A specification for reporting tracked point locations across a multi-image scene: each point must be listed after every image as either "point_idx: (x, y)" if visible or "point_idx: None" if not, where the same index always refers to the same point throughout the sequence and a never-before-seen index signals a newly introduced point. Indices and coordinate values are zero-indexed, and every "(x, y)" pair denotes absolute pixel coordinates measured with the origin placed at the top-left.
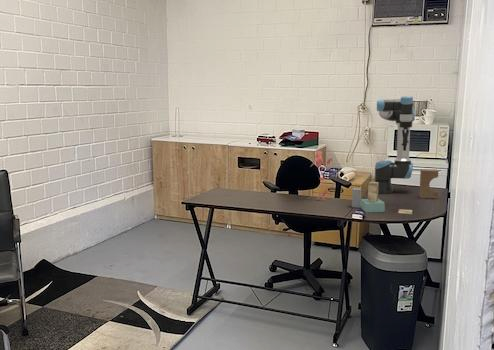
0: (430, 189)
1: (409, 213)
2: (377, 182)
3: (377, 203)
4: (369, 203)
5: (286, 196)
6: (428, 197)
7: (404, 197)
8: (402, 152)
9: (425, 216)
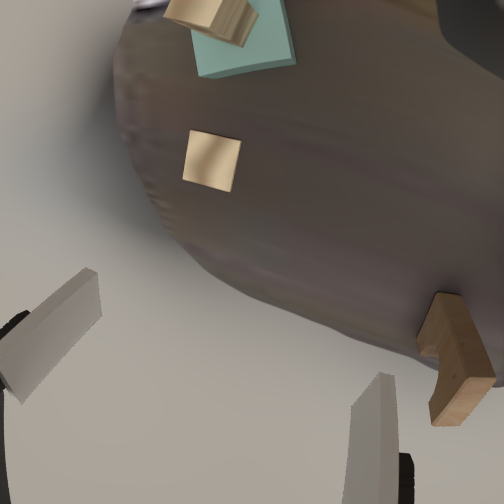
0: (431, 344)
1: (184, 169)
2: (205, 21)
3: (193, 44)
4: None
5: None
6: (427, 317)
7: (468, 236)
8: (58, 292)
9: (163, 215)
